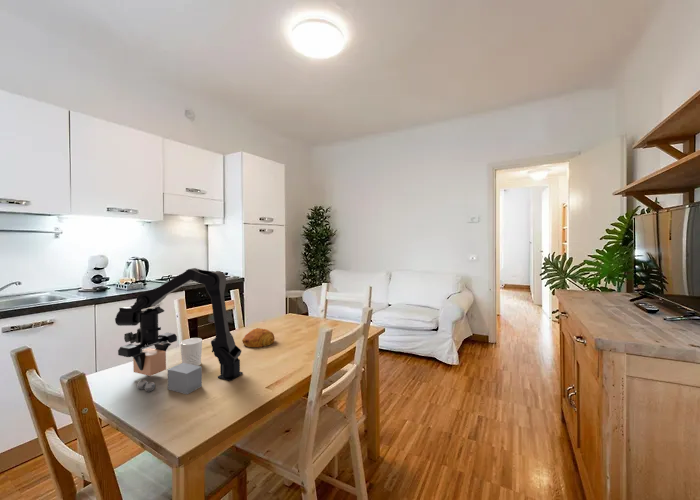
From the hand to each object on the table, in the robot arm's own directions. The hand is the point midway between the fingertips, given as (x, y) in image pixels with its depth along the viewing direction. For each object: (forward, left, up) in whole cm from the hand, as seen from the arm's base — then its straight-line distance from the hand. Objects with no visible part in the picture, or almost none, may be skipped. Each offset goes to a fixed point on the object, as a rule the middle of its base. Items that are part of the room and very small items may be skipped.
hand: (149, 366), depth 113 cm
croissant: (-13, -46, -4) cm, 48 cm away
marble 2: (-10, +7, -4) cm, 13 cm away
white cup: (-5, -14, -4) cm, 15 cm away
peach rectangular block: (0, 0, -2) cm, 2 cm away
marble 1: (-6, +7, -4) cm, 10 cm away
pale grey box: (-19, +1, -4) cm, 19 cm away
